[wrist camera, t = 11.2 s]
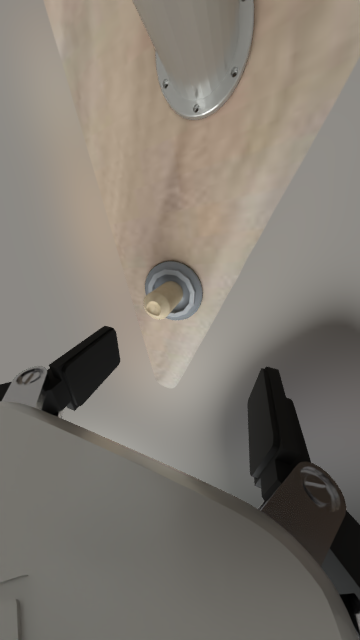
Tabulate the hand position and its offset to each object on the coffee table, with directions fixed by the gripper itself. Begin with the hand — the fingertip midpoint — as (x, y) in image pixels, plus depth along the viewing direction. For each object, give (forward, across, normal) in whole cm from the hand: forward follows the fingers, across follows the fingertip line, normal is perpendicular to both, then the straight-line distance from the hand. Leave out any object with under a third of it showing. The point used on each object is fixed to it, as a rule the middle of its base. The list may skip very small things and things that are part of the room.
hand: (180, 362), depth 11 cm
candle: (+27, +10, +6) cm, 30 cm away
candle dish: (+28, +10, +6) cm, 30 cm away
